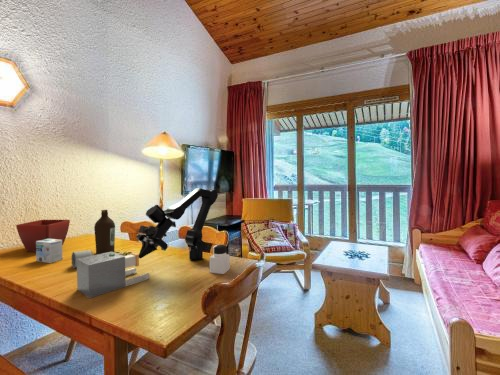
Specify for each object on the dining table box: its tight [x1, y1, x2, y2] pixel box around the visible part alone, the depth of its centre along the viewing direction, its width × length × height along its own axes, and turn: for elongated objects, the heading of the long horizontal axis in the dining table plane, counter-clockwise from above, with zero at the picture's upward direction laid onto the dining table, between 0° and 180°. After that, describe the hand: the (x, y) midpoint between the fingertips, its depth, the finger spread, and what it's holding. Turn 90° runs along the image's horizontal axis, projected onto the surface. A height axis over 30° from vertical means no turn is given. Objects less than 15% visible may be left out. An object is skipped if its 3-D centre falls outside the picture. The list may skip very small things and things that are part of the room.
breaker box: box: [76, 251, 150, 299], centre depth 104 cm, size 23×12×13 cm, turn 141°
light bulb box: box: [35, 239, 64, 264], centre depth 136 cm, size 11×7×11 cm, turn 73°
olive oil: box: [93, 209, 116, 255], centre depth 150 cm, size 11×11×25 cm
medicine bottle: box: [209, 243, 231, 275], centre depth 119 cm, size 7×7×12 cm
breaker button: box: [123, 252, 140, 269], centre depth 107 cm, size 12×5×5 cm, turn 141°
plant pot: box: [15, 219, 71, 253], centre depth 158 cm, size 19×19×17 cm
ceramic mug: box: [71, 249, 94, 269], centre depth 128 cm, size 11×8×8 cm
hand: (139, 257), depth 112 cm, fingers closed
